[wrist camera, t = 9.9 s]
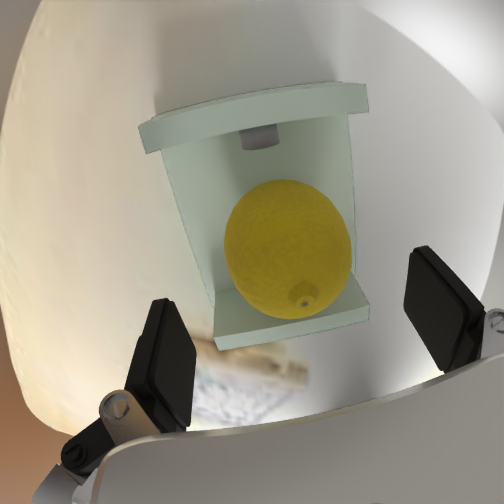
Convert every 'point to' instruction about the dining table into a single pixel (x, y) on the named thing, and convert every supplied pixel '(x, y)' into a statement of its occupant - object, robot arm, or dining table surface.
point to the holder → (256, 173)
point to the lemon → (287, 249)
